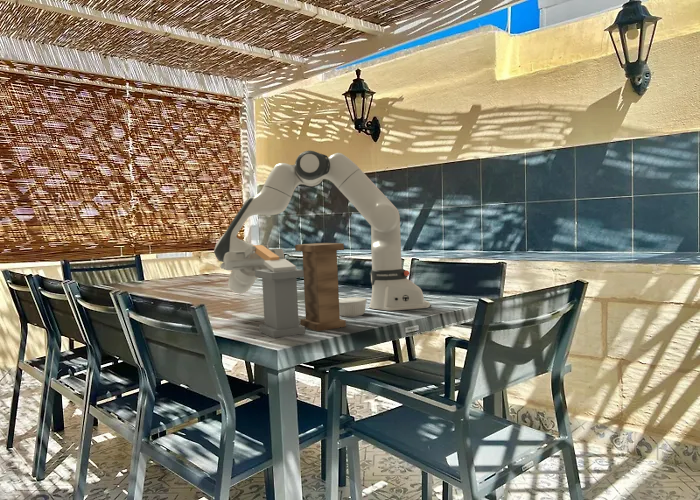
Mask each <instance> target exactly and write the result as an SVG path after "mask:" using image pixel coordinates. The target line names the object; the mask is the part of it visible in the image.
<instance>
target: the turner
mask: <svg viewBox="0 0 700 500" xmlns="http://www.w3.org/2000/svg"><path fill="white" fill-rule="evenodd" d="M253 246H255V247H256V252H255V253H256V254H257V255H259V256H260V257H261V258H263V259H264V260H265V261H264V265H265V266H266V267H268V268H269V269H270V270H272V271H273V272H280V271H291V270H296V269H297V265H295V264H294V263H292V262H291V261H289V260H288V259H286V258H284V259H279V256H277V255H276V254H274V253H273V252H271V251H270V250H269V249H270V248H269V249H267V248H266V247H264V246H265V245H263V244H253Z"/></svg>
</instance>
